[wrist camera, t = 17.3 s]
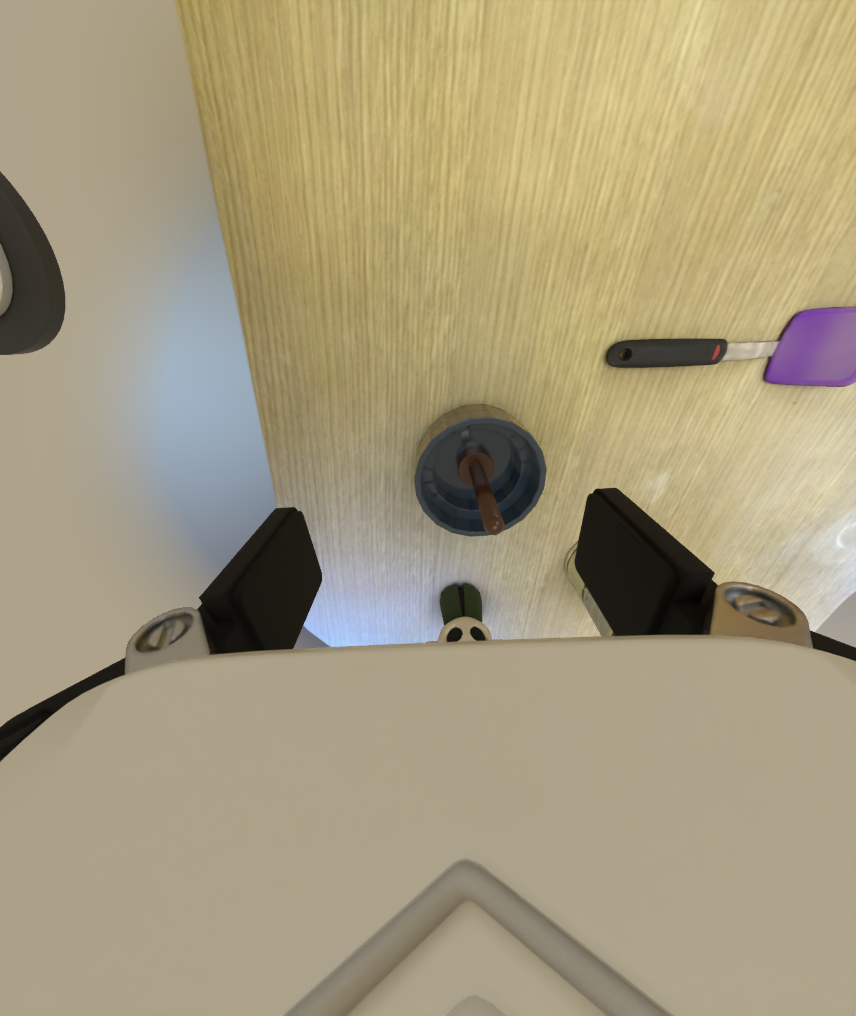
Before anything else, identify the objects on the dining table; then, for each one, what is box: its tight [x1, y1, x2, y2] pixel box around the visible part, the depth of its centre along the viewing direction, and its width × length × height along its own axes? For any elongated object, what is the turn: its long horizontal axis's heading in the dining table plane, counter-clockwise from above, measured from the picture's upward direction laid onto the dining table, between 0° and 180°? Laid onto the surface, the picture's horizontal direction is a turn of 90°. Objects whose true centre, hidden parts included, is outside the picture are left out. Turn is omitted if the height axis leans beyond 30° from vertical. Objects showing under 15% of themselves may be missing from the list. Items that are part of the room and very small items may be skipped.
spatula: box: [606, 307, 856, 387], centre depth 30 cm, size 24×7×2 cm, turn 91°
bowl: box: [414, 405, 546, 536], centre depth 34 cm, size 13×13×6 cm
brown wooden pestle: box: [457, 447, 504, 535], centre depth 31 cm, size 4×4×14 cm
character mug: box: [426, 584, 502, 643], centre depth 43 cm, size 11×7×13 cm, turn 93°
